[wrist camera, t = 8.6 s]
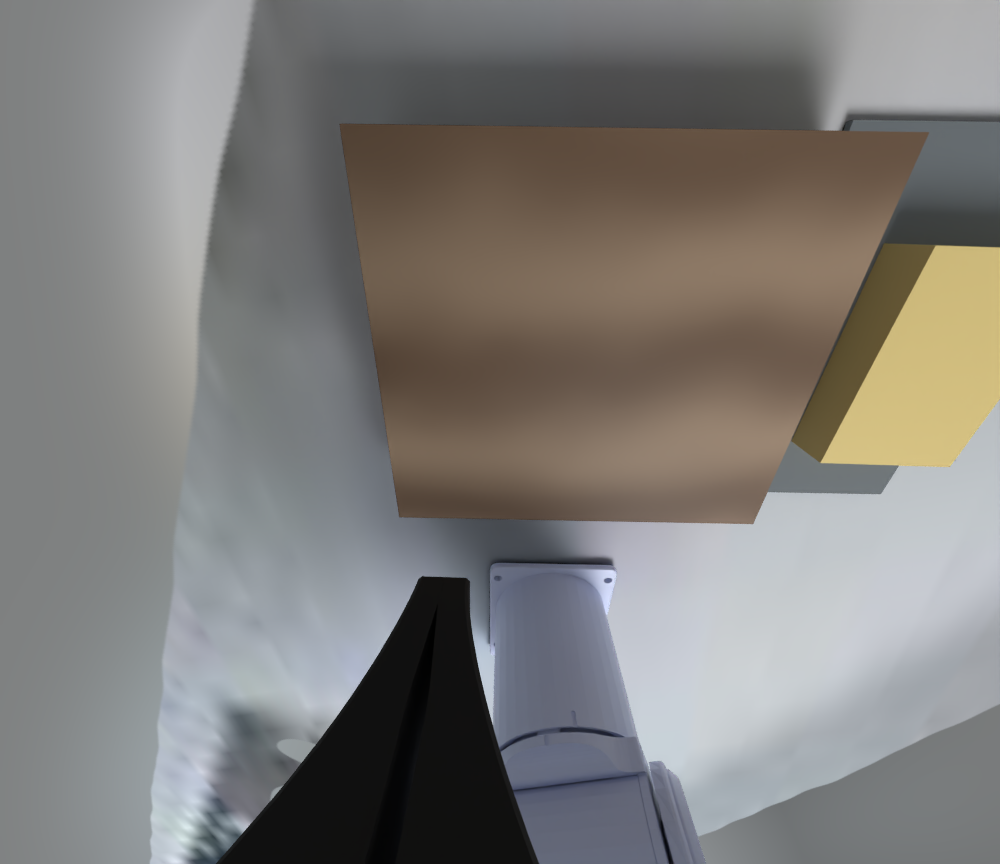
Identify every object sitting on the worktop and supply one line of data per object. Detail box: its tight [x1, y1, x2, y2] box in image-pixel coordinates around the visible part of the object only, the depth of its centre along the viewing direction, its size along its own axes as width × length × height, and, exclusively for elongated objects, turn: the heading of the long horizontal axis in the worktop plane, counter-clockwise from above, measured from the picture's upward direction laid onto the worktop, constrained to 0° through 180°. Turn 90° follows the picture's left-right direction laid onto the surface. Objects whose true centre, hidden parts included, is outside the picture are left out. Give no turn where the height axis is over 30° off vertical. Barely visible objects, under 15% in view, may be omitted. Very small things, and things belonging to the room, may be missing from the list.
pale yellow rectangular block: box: [792, 243, 1000, 467], centre depth 16 cm, size 9×6×2 cm, turn 178°
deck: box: [340, 124, 929, 524], centre depth 15 cm, size 14×16×4 cm
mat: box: [768, 120, 1000, 494], centre depth 17 cm, size 16×9×1 cm, turn 179°
